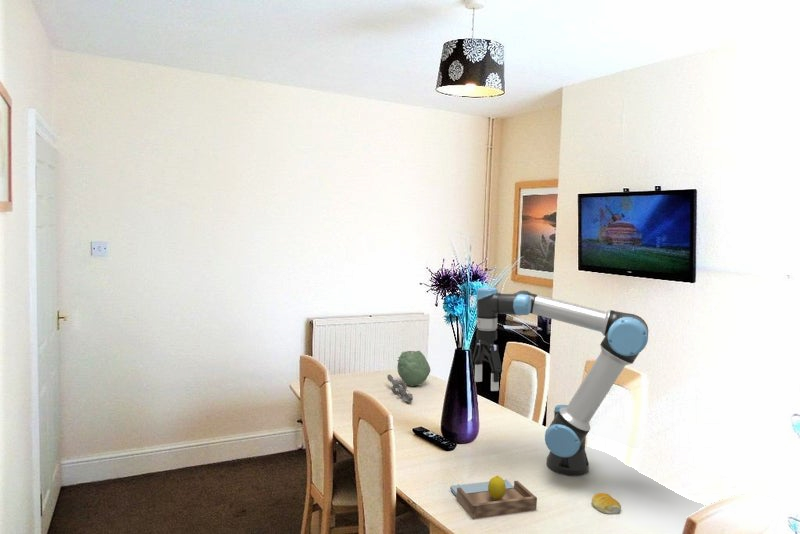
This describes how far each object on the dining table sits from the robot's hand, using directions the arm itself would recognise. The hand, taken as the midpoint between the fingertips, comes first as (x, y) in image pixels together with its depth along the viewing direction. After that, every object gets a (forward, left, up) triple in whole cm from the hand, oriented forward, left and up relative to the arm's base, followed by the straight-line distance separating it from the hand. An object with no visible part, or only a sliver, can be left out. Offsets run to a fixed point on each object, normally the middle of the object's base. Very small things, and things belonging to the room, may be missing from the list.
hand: (486, 386), depth 200 cm
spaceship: (+5, -88, -30) cm, 93 cm away
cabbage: (-8, -103, -30) cm, 108 cm away
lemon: (+10, +29, -28) cm, 42 cm away
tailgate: (+10, +23, -28) cm, 37 cm away
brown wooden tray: (+10, +29, -30) cm, 43 cm away
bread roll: (-24, +39, -30) cm, 55 cm away
